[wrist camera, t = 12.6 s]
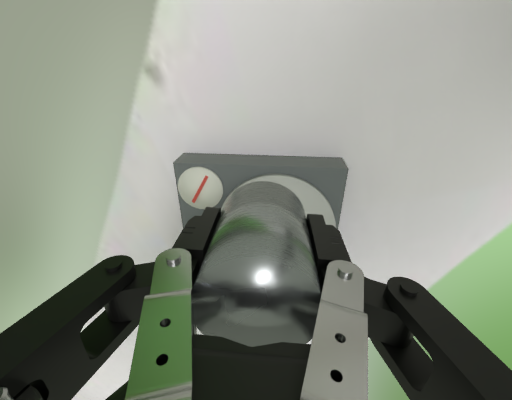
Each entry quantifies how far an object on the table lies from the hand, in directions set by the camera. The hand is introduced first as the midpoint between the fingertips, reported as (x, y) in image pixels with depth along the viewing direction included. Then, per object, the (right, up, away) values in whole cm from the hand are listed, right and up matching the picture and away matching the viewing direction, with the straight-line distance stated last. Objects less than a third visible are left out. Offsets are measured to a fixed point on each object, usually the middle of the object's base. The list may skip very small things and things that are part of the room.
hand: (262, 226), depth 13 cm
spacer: (0, 0, 0) cm, 1 cm away
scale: (0, 0, +16) cm, 16 cm away
